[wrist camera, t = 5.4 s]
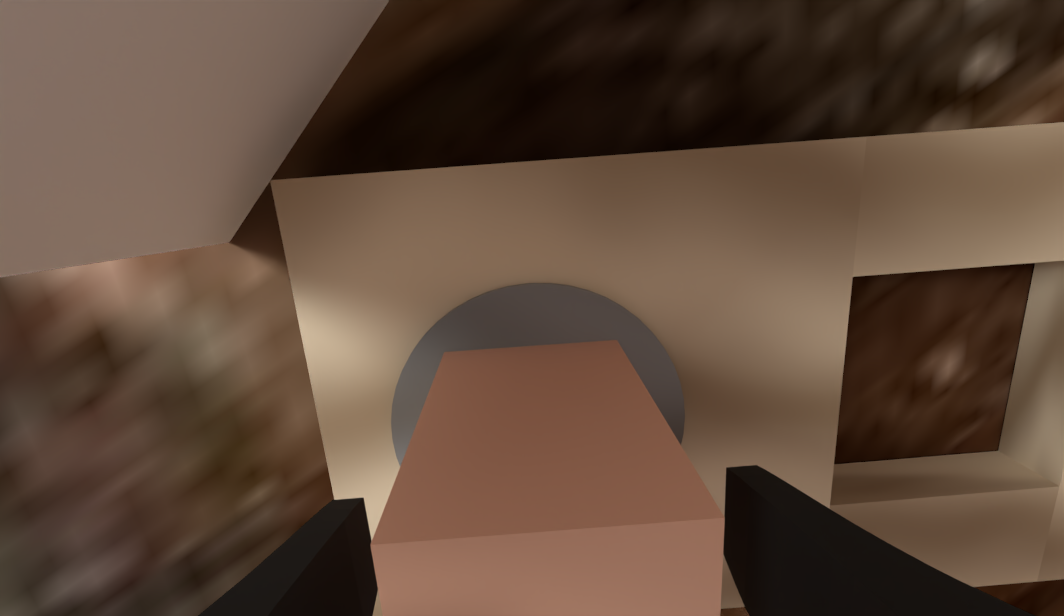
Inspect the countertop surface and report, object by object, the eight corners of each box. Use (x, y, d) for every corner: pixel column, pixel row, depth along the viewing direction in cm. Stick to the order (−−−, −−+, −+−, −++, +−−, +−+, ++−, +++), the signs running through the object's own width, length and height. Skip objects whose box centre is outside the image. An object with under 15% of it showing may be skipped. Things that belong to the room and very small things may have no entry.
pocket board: (1049, 531, 18) (1124, 582, 16) (379, 588, 18) (359, 648, 16) (1148, 117, 14) (1264, 107, 12) (303, 178, 14) (264, 180, 12)
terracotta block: (619, 489, 14) (713, 772, 8) (461, 501, 14) (414, 797, 8) (617, 339, 13) (724, 517, 6) (444, 351, 13) (370, 544, 6)
